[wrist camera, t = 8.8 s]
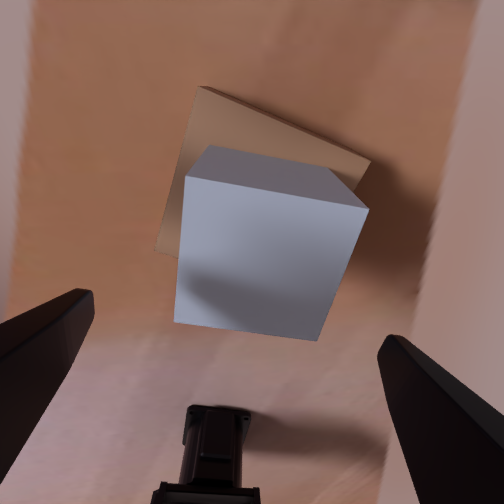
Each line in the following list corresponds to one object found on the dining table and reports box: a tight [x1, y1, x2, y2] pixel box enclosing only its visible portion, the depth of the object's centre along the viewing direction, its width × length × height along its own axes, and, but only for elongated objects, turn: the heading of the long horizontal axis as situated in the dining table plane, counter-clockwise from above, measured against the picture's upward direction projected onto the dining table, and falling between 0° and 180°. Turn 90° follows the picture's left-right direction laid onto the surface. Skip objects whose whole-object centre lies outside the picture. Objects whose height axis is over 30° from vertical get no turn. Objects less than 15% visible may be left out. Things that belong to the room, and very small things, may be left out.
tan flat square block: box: [154, 86, 371, 259], centre depth 18 cm, size 9×9×4 cm
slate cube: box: [174, 145, 369, 341], centre depth 13 cm, size 6×6×6 cm
